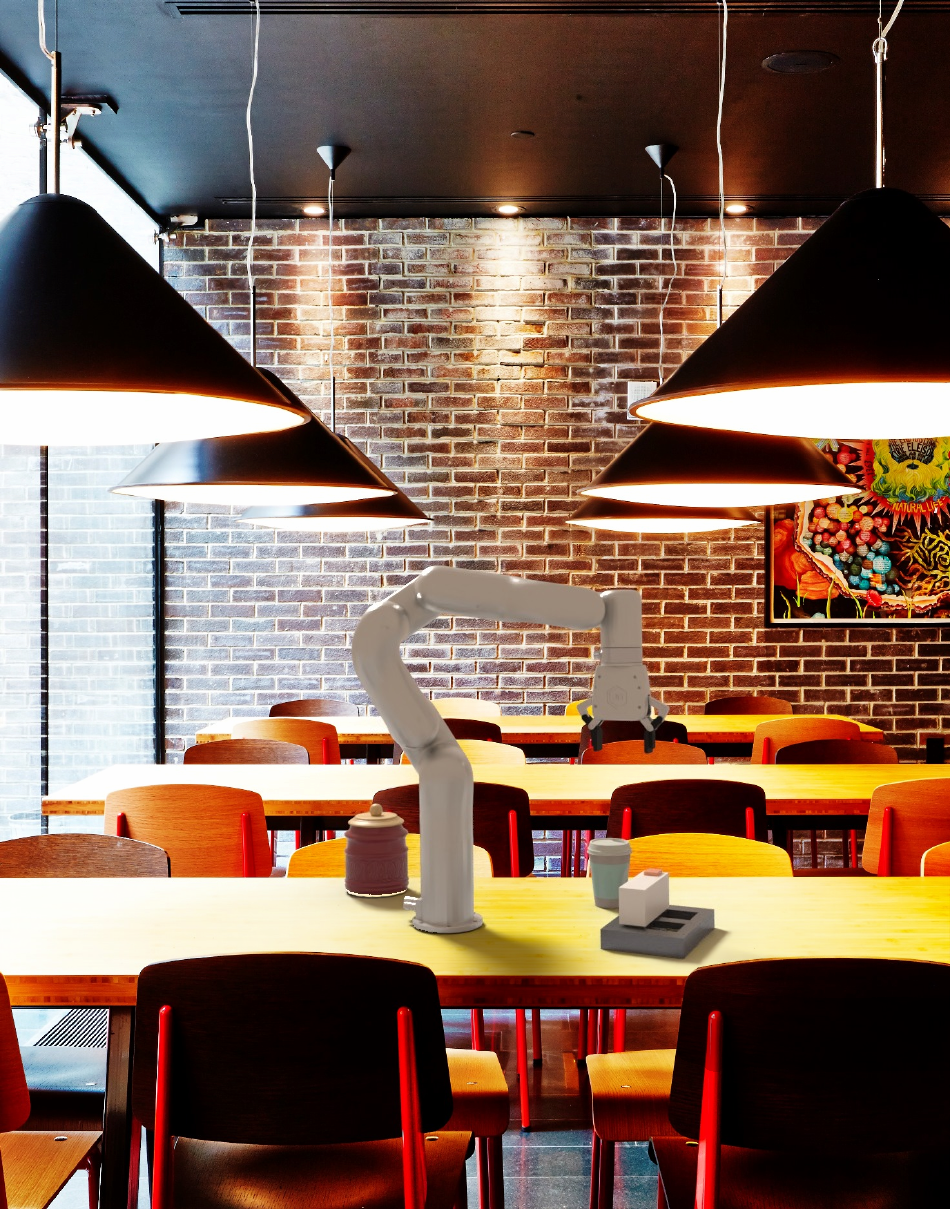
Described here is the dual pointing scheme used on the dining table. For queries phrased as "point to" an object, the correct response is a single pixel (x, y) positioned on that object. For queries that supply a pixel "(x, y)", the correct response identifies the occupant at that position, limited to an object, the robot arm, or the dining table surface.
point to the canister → (376, 853)
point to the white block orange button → (644, 898)
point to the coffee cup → (608, 869)
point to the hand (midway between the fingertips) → (623, 751)
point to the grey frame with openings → (661, 933)
